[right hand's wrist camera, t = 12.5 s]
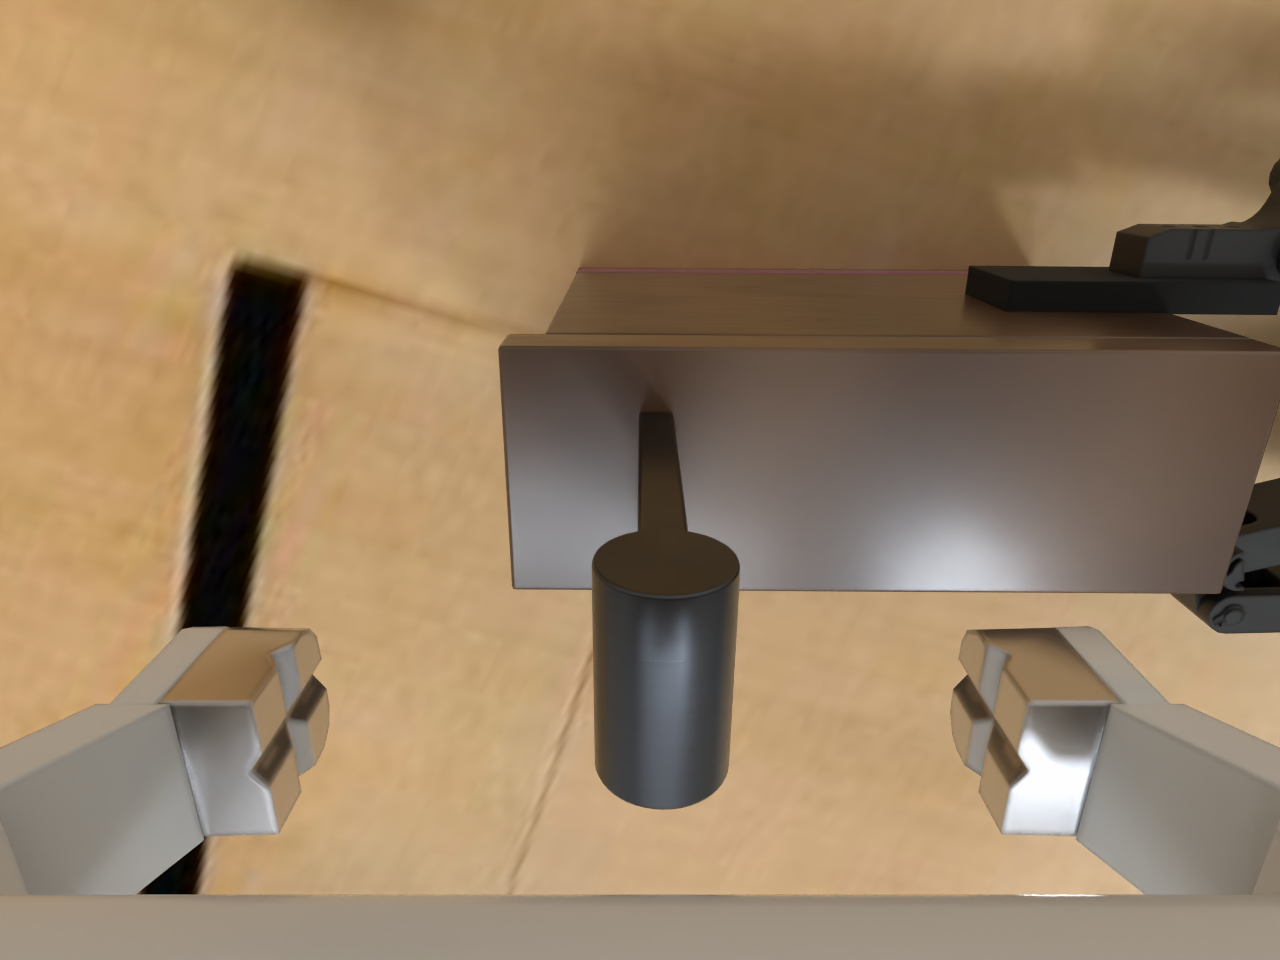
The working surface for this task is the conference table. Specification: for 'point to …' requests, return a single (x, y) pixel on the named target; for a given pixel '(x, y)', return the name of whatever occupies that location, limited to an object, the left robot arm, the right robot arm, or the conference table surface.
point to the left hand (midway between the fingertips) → (969, 403)
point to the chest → (827, 307)
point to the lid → (852, 492)
